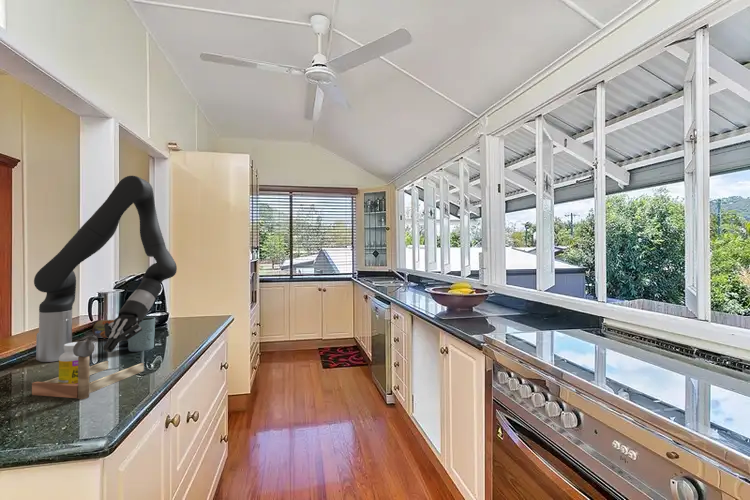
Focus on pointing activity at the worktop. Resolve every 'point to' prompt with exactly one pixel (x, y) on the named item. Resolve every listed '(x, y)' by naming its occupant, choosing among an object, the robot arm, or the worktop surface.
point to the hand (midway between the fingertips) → (106, 350)
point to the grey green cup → (143, 336)
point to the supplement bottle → (68, 365)
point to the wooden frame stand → (83, 375)
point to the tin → (100, 328)
